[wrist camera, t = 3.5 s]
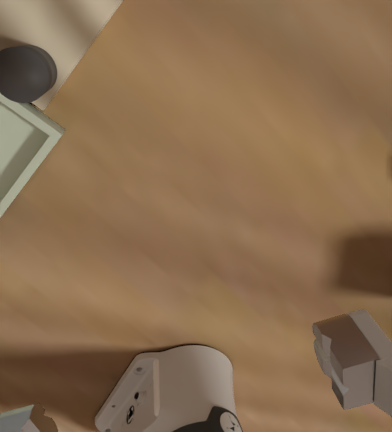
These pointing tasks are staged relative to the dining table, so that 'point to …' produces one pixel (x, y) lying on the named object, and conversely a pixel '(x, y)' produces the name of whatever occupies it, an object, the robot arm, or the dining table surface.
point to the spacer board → (46, 44)
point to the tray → (22, 146)
